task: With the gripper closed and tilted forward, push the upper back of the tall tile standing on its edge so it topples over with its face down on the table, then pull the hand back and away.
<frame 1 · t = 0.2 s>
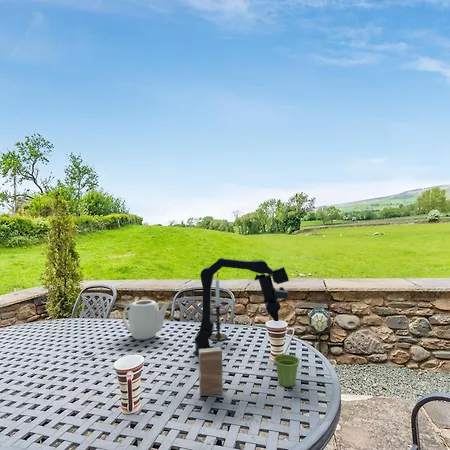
hand: (276, 319, 141), 15 cm above the table, tool pointing down, fingers open, 9 cm apart
tile: (211, 392, 110), on the table
candlestick: (218, 338, 163), on the table
plant pot: (287, 383, 115), on the table
white lidless teapot: (146, 336, 168), on the table
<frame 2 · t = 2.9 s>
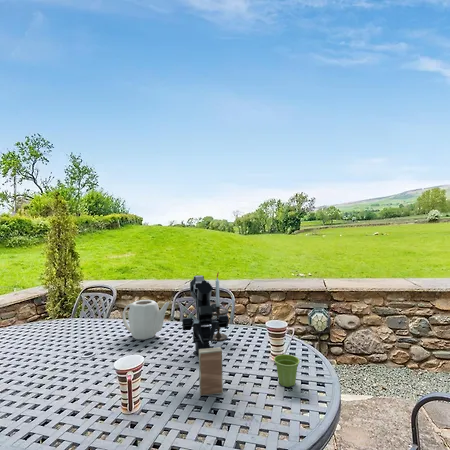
hand: (207, 342, 120), 14 cm above the table, tool tilted 45°, fingers open, 3 cm apart
nothing on the table moved.
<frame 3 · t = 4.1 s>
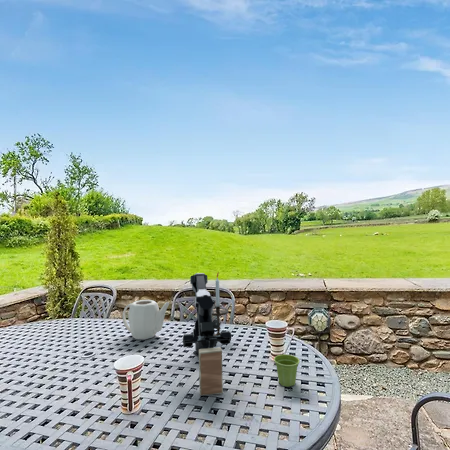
hand: (208, 361, 115), 9 cm above the table, tool tilted 45°, fingers closed
nothing on the table moved.
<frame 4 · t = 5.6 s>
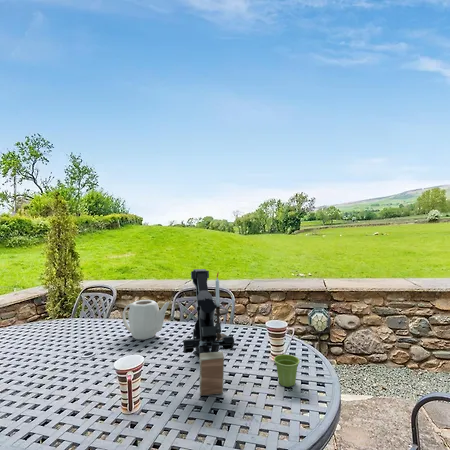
hand: (210, 367, 109), 9 cm above the table, tool tilted 45°, fingers closed
tile: (211, 391, 110), on the table, tilted 16°
everything else where it was.
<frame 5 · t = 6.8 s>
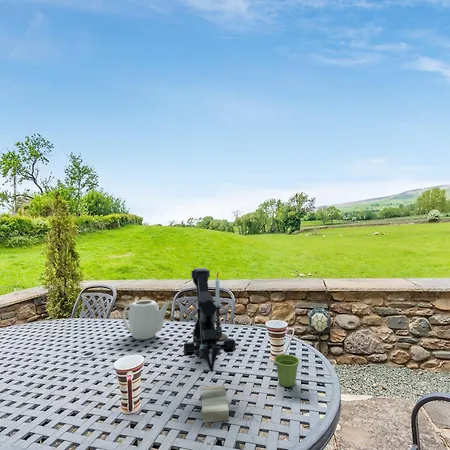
hand: (211, 371, 107), 9 cm above the table, tool tilted 45°, fingers closed
tile: (213, 390, 108), point 1 cm above the table, tilted 90°
everything else where it was.
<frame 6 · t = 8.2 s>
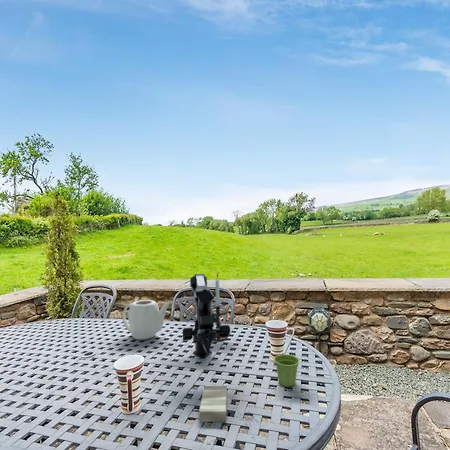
hand: (208, 353, 117), 10 cm above the table, tool tilted 45°, fingers closed
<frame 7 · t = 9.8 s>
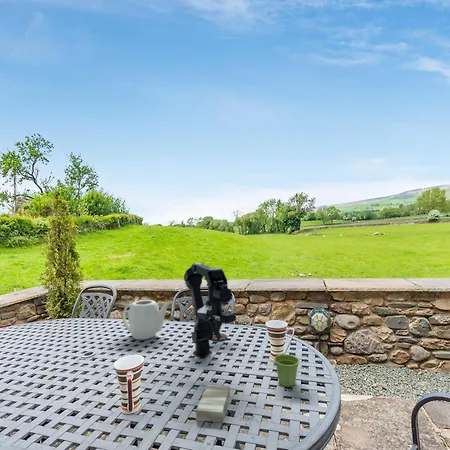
hand: (215, 335, 130), 13 cm above the table, tool pointing down, fingers closed
tile: (218, 390, 108), point 1 cm above the table, tilted 90°
everything else where it was.
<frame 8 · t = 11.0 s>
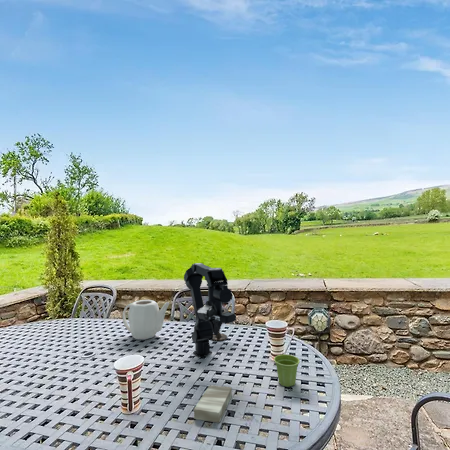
hand: (215, 335, 130), 13 cm above the table, tool pointing down, fingers closed
nothing on the table moved.
at the end: tile tilted 90°; tile inside the target area (2.7 cm from its centre), point 1.5 cm above the table; the gripper is holding nothing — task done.
